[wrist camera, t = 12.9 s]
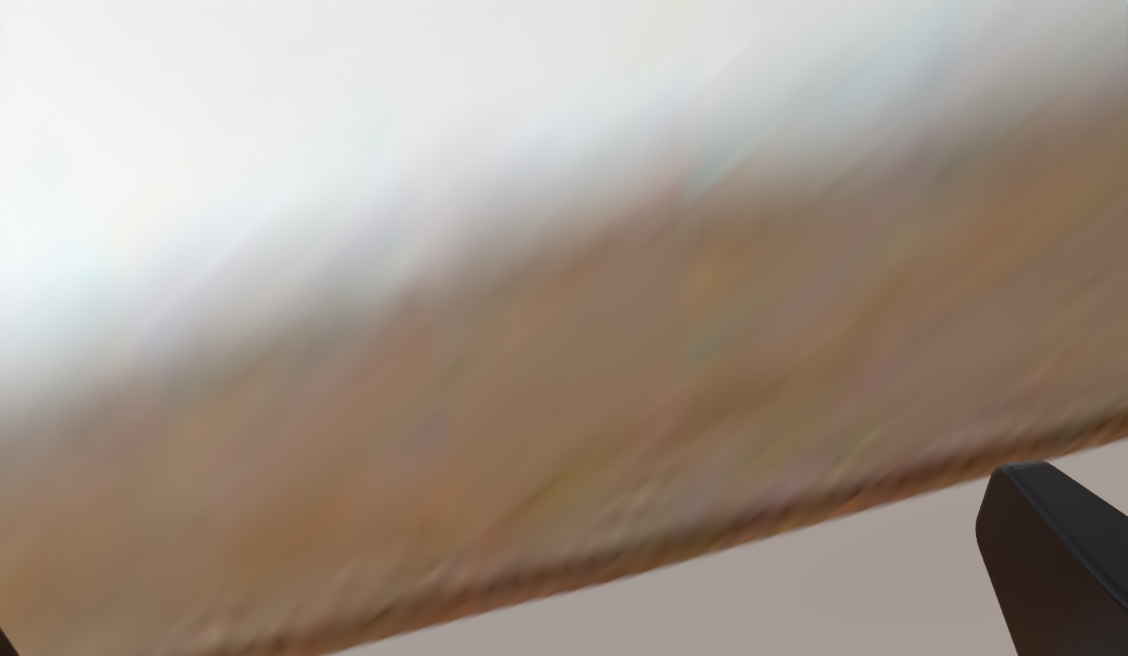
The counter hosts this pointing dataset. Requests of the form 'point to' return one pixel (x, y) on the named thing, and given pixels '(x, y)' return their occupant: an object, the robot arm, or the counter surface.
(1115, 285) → the counter surface
